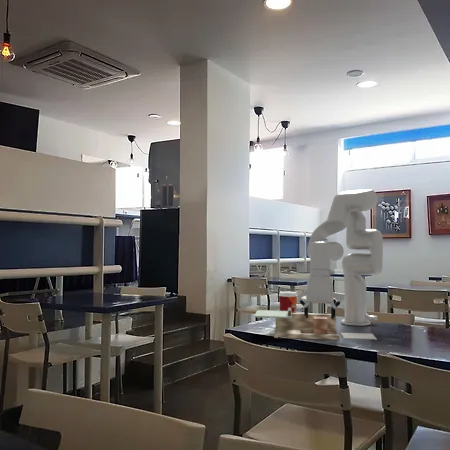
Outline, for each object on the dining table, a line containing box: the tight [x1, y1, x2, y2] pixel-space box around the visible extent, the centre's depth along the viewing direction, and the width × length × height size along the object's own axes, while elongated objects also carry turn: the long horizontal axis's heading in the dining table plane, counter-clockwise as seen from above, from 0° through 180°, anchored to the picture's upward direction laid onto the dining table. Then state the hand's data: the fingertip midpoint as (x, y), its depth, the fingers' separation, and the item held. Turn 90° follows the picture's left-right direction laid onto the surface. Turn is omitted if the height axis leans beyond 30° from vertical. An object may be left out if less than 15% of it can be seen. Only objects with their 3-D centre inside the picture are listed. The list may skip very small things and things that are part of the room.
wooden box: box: [273, 312, 340, 341], centre depth 184 cm, size 24×16×8 cm, turn 82°
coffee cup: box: [278, 291, 299, 313], centre depth 202 cm, size 8×8×15 cm
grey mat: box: [340, 332, 378, 341], centre depth 181 cm, size 12×10×1 cm
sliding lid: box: [254, 308, 291, 319], centre depth 185 cm, size 14×15×3 cm
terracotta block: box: [313, 317, 327, 334], centre depth 181 cm, size 5×5×7 cm
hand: (319, 318), depth 181 cm, fingers open, 9 cm apart
